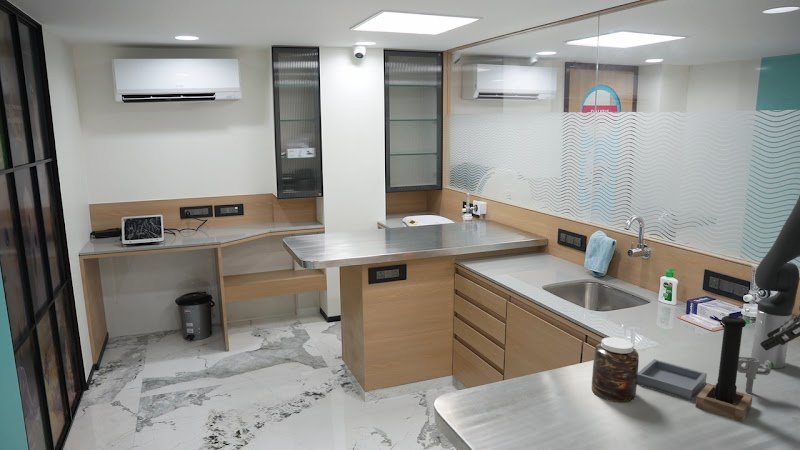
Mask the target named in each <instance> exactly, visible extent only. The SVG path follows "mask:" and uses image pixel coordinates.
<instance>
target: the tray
mask: <svg viewBox="0 0 800 450" xmlns="http://www.w3.org/2000/svg"><path fill="white" fill-rule="evenodd" d="M707 375H708V373H706V372H703V371H700V370H699V371H698V370H695V369H692V368H688V367H685V366H681V365H676V364H674V363H669V362H667V361H662V360H659V359H656V358H654V359H652V360H651V361H650V362H649V363H648V364H647V365H645V366H644V367H643V368H642V369H640V370H639V371H638V376H637V385H640V386H643V387H646V388H648V389H649V388H650V389H653V390H656V391H660V392H662V393H665V394H668V395H671V396H674V397H678V398H681V399H685V400H688V401H692V400H693V399H694V398H695V396H697V395H698V394H699V393H700V392H699V391H701V390H702V389H703V388H704V387H705V385H706V384H707ZM704 384H705V385H704ZM692 398H693V399H692Z"/></svg>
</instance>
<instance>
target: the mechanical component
mask: <svg viewBox="0 0 800 450" xmlns="http://www.w3.org/2000/svg"><path fill="white" fill-rule="evenodd" d="M773 366H774V364H773V362H770V361H769V360H766V361H765V363H764V364H760V363H759V360H758V359H755V358H751V356H750V357H749V356H748V357H747V356H739V361H738V369H737V373H741V374H745V375H744V377H745V378H746V384H745V385H746V386H745V392H746V394H748V395H752V392H753V389H754V387H753V386H754V380H756V379H757V375H760V376H761V375H762V376H768V375H770V374H771V371H772V368H771V367H773Z"/></svg>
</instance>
